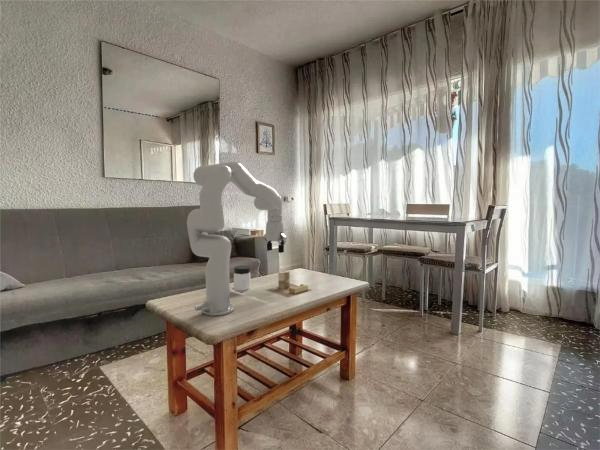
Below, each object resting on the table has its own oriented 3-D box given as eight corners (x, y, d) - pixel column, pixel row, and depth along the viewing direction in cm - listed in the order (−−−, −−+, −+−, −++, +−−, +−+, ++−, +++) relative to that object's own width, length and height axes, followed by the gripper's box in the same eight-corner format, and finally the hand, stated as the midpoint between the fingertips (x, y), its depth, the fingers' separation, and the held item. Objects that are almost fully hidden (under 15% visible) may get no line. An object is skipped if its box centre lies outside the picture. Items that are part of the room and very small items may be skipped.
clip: (294, 294, 148) (294, 289, 148) (289, 292, 151) (289, 287, 150) (307, 290, 154) (307, 285, 154) (302, 288, 157) (302, 284, 157)
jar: (237, 293, 153) (236, 269, 152) (231, 289, 160) (230, 266, 159) (253, 290, 158) (253, 267, 157) (247, 287, 165) (247, 264, 164)
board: (288, 299, 143) (287, 297, 143) (265, 292, 155) (265, 289, 155) (313, 292, 155) (313, 289, 155) (290, 285, 167) (290, 283, 167)
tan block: (283, 288, 157) (282, 273, 157) (278, 287, 160) (278, 272, 159) (289, 287, 160) (289, 271, 160) (285, 285, 163) (284, 270, 162)
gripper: (259, 218, 166) (259, 250, 168) (279, 220, 154) (280, 254, 155) (270, 218, 172) (270, 248, 173) (291, 219, 159) (291, 252, 161)
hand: (275, 251), depth 164 cm, fingers open, 9 cm apart
